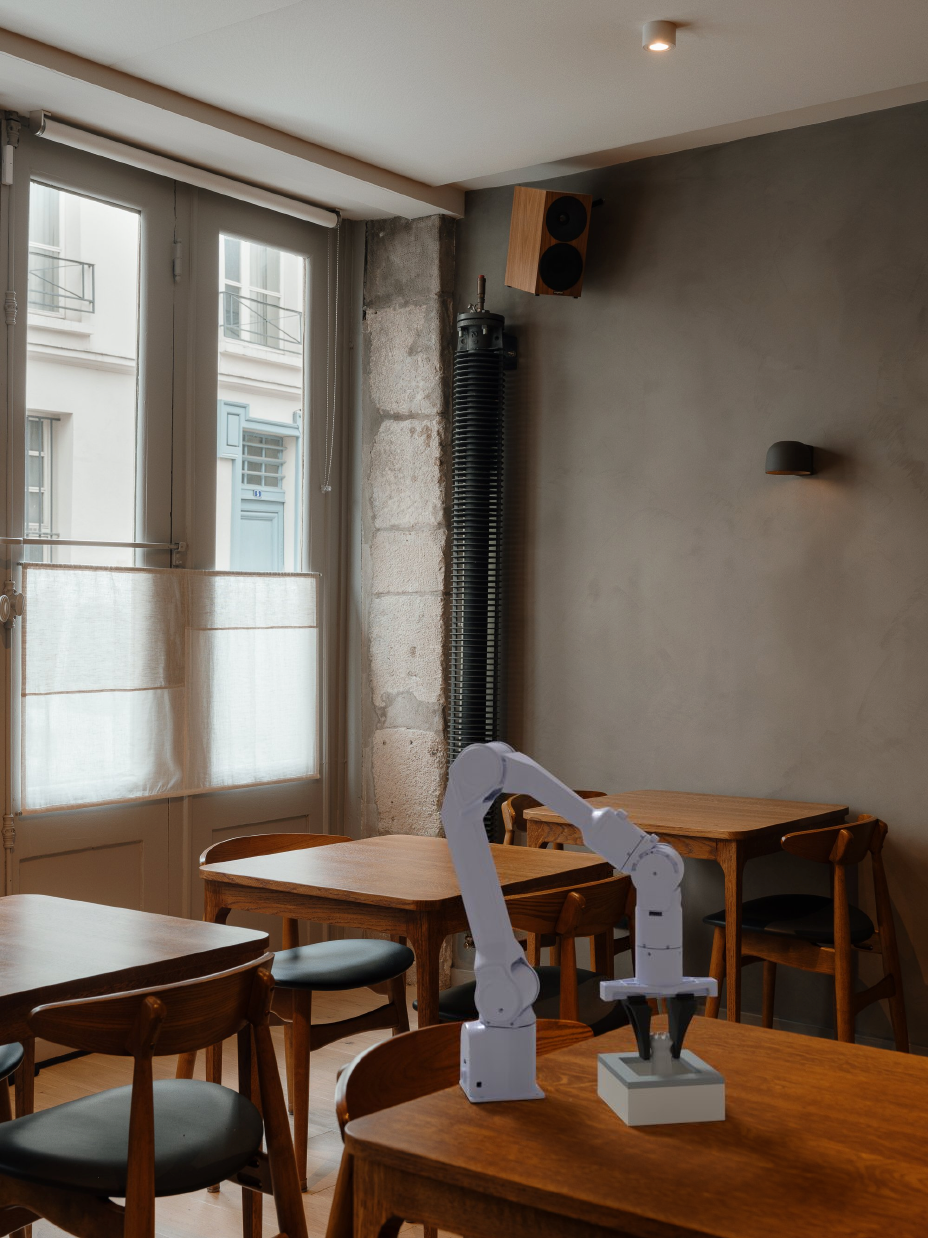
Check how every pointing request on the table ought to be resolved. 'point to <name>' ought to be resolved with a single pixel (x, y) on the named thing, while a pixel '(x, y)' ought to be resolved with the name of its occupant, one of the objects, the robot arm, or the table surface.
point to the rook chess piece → (660, 1054)
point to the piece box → (661, 1089)
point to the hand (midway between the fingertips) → (659, 1057)
